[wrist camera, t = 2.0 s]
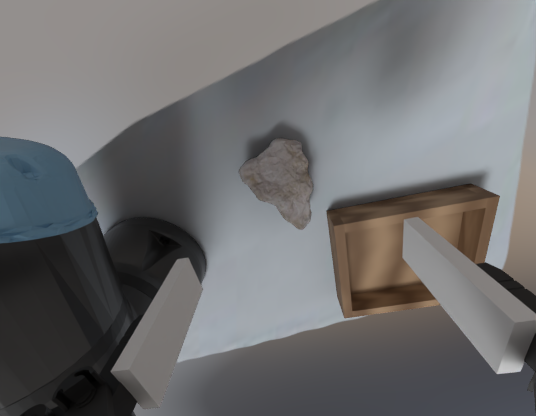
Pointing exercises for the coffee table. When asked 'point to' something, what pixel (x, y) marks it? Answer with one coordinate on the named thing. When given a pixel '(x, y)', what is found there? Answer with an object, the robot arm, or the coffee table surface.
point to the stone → (281, 180)
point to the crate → (391, 245)
